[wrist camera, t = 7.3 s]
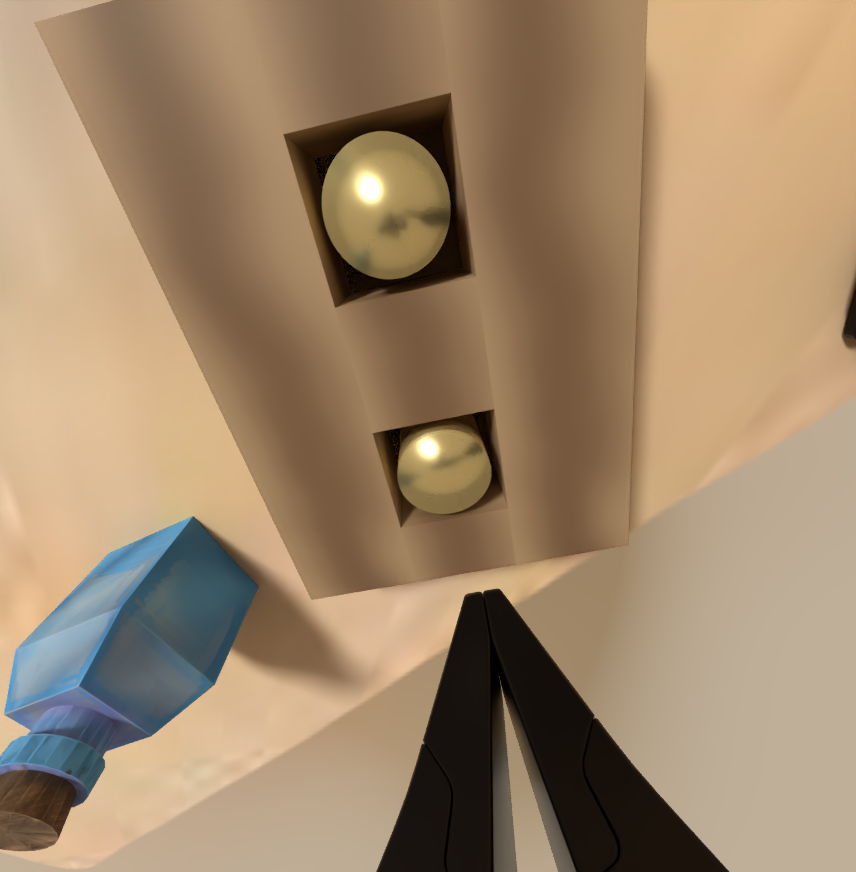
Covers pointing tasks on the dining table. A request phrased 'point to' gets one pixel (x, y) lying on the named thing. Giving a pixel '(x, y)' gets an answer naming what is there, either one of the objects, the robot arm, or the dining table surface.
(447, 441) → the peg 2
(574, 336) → the socket board
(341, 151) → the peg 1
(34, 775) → the perfume bottle
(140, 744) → the dining table surface
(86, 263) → the dining table surface
